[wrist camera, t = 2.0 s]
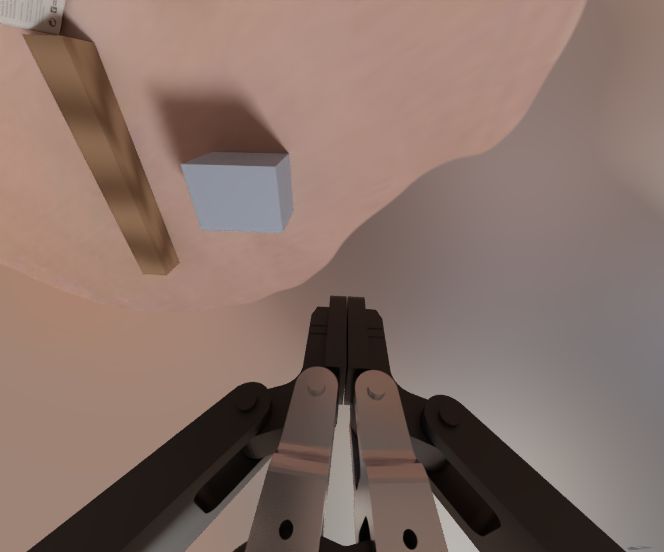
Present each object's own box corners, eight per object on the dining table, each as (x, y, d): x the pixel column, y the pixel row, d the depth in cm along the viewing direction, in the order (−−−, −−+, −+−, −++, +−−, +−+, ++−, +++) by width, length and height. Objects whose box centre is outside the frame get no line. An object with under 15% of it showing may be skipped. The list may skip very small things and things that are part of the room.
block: (212, 151, 26) (180, 164, 21) (289, 153, 25) (275, 166, 21) (225, 207, 29) (201, 230, 24) (293, 210, 29) (282, 233, 24)
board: (59, 41, 21) (22, 34, 19) (94, 42, 21) (61, 35, 19) (157, 261, 34) (143, 274, 32) (179, 262, 34) (166, 275, 31)
